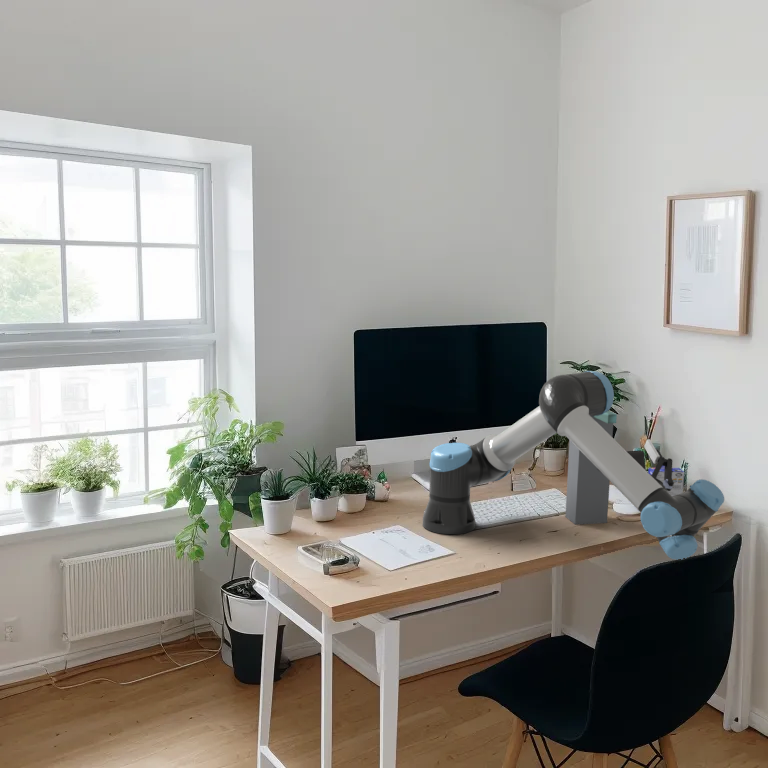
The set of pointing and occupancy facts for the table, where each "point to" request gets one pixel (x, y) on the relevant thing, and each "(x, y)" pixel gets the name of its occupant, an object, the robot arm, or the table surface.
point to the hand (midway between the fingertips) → (623, 443)
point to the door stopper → (638, 456)
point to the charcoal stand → (586, 486)
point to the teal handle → (607, 417)
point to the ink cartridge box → (676, 477)
